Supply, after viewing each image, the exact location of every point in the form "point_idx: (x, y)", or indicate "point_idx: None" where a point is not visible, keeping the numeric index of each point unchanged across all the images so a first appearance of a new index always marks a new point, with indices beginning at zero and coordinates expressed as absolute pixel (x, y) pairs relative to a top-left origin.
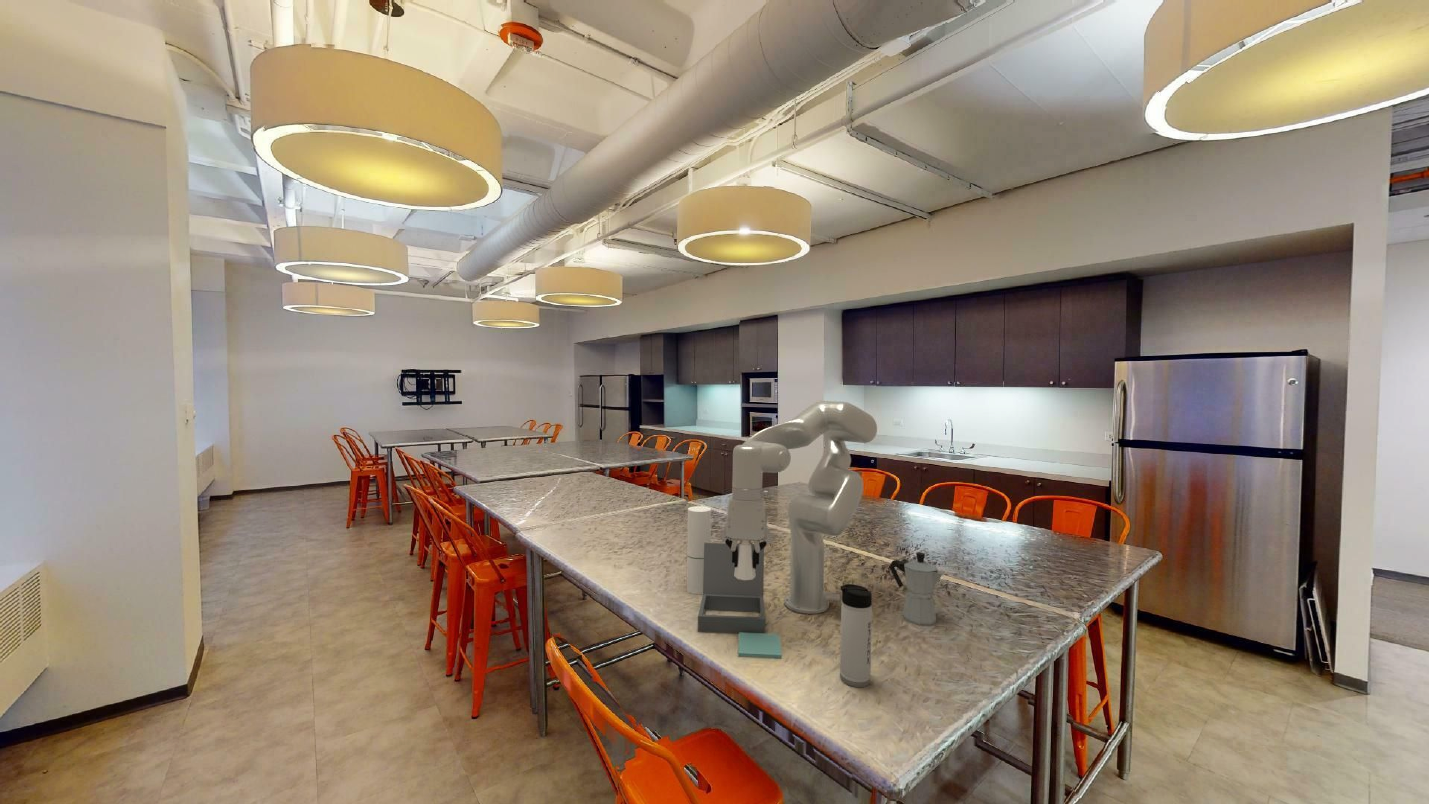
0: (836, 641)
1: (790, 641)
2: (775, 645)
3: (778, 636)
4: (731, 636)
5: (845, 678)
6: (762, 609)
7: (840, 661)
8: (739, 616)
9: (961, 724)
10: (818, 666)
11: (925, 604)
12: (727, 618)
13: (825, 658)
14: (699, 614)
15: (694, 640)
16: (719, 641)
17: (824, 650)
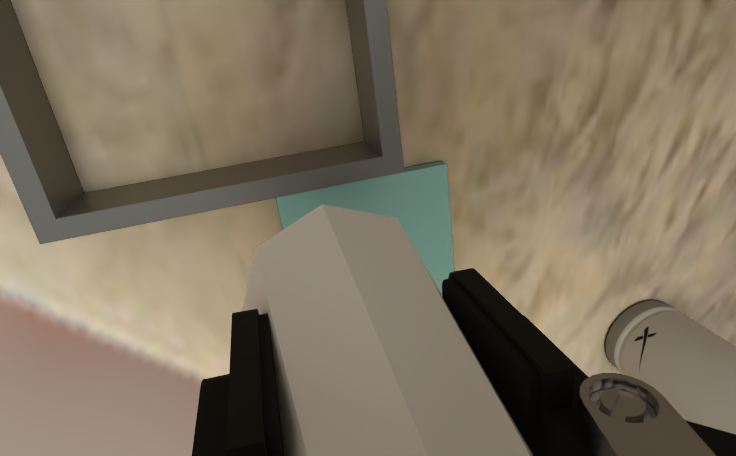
0: (644, 130)
1: (484, 179)
2: (434, 255)
3: (444, 184)
4: (244, 209)
5: (620, 371)
6: (381, 57)
7: (638, 372)
8: (272, 180)
9: None
10: (557, 306)
11: None
12: (212, 207)
13: (585, 256)
14: (38, 222)
15: (93, 290)
16: (205, 264)
17: (591, 207)
